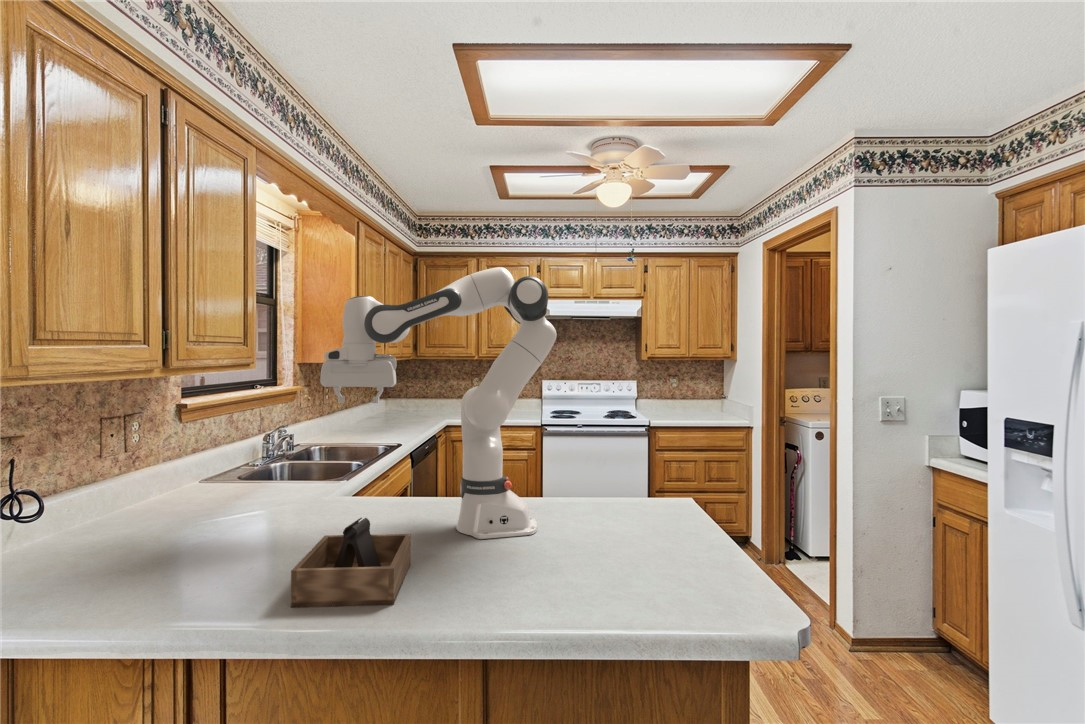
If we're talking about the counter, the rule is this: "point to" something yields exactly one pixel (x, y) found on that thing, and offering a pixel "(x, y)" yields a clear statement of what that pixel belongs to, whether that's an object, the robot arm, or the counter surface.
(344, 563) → the phone stand
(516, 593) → the counter surface
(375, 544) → the walnut box
